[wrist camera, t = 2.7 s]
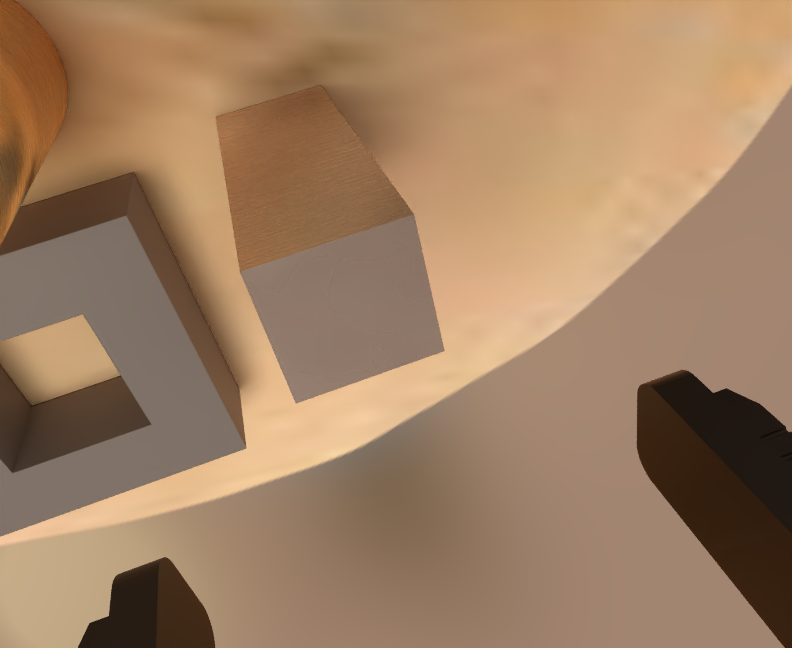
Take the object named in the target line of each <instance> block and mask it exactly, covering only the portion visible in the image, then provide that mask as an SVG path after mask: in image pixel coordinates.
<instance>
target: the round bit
mask: <svg viewBox="0 0 792 648" xmlns="http://www.w3.org/2000/svg"><path fill="white" fill-rule="evenodd" d="M67 102H68V86H67V79H66V74H65V70H64V67H63V64H62V61H61V59H60V56H59V54H58V52H57V49H56V48H55V46H54V44H53V43H52V41H51V39H50V37H49V36H48V35H47V33H46V32H45V31H44V29H43V28H42V26H41V25H40V24H39V23H38V22H37V21H36V20H35V19H34V18H33V16H32V15H31V14H30V13H28V12H27V11H26V10H25V9H24V8H23V7H22V6H21V5H19V4H18V3H17V2H15V1H14V0H0V246H1V244H2V242H3V240H4V238H5V236H6V234H7V232H8V230H9V228H10V226H11V224H12V222H13V220H14V218H15V216H16V214H17V212H18V210H19V208H20V206H21V204H22V202H23V200H24V198H25V196H26V194H27V192H28V190H29V188H30V186H31V184H32V182H33V180H34V178H35V176H36V174H37V172H38V170H39V168H40V167H41V165H42V163H43V161H44V159H45V157H46V155H47V153H48V151H49V149H50V147H51V145H52V143H53V141H54V139H55V137H56V135H57V133H58V131H59V129H60V127H61V125H62V122H63V120H64V117H65V113H66V109H67Z"/></svg>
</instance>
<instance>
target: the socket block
mask: <svg viewBox="0 0 792 648" xmlns="http://www.w3.org/2000/svg"><path fill="white" fill-rule="evenodd" d="M82 314H83V315H84V317H85V318H86V320H87V322H88V323H89V325H90V326H91V328H92V330H93V331H94V333H95V334H96V336H97V338H98V339H99V341H100V342H101V344H102V346H103V347H104V349H105V351H106V352H107V354H108V355H109V357H110V359H111V360H112V362H113V363H114V365H115V367H116V368H117V370H118V371H119V373H120V375H121V376H120V377H117V378H114V379H111V380H108V381H105V382H102V383H99V384H96V385H94V386H91V387H88V388H85V389H82V390H79V391H76V392H73V393H70V394H67V395H64V396H61V397H58V398H55V399H53V400H50V401H47V402H44V403H41V404H38V405H35V406H32V407H31V405H30V404H29V403H28V401H27V400H26V399H25V397H24V396H23V395H22V393H21V392H20V391H19V389H18V388H17V387H16V385H15V384H14V383H13V382H12V380H11V379H10V378H9V376H8V375H7V374H6V372H5V371H4V370H3V368H2V367H1V366H0V537H1V536H3V535H6V534H9V533H12V532H14V531H17V530H20V529H23V528H26V527H28V526H31V525H34V524H37V523H40V522H42V521H45V520H48V519H51V518H54V517H56V516H59V515H62V514H65V513H67V512H70V511H73V510H76V509H79V508H81V507H84V506H87V505H90V504H93V503H95V502H98V501H101V500H104V499H106V498H109V497H112V496H115V495H118V494H120V493H123V492H126V491H129V490H132V489H134V488H137V487H140V486H143V485H146V484H148V483H151V482H154V481H157V480H159V479H162V478H165V477H168V476H171V475H173V474H176V473H179V472H182V471H185V470H187V469H190V468H193V467H196V466H199V465H201V464H204V463H207V462H210V461H212V460H215V459H218V458H221V457H224V456H226V455H229V454H232V453H235V452H238V451H240V450H243V449H246V441H245V433H244V424H243V416H242V408H241V399H240V391H239V388H238V386H237V384H236V382H235V380H234V378H233V376H232V374H231V371H230V369H229V367H228V365H227V363H226V361H225V359H224V357H223V355H222V353H221V351H220V349H219V347H218V345H217V343H216V341H215V339H214V337H213V335H212V332H211V330H210V328H209V326H208V324H207V322H206V320H205V318H204V316H203V314H202V312H201V310H200V308H199V306H198V304H197V302H196V300H195V298H194V296H193V293H192V291H191V289H190V287H189V285H188V283H187V281H186V279H185V277H184V275H183V273H182V271H181V269H180V267H179V265H178V263H177V261H176V259H175V256H174V254H173V252H172V250H171V248H170V246H169V244H168V242H167V240H166V238H165V236H164V234H163V232H162V230H161V228H160V226H159V224H158V222H157V220H156V217H155V215H154V213H153V211H152V209H151V207H150V205H149V203H148V201H147V199H146V197H145V195H144V193H143V191H142V189H141V187H140V185H139V183H138V181H137V178H136V176H135V174H134V172H133V173H129V174H126V175H123V176H120V177H117V178H113V179H110V180H107V181H104V182H101V183H97V184H94V185H91V186H88V187H85V188H81V189H78V190H75V191H72V192H69V193H65V194H62V195H59V196H56V197H53V198H49V199H46V200H43V201H40V202H36V203H33V204H30V205H27V206H24V207H20V208H19V210H18V212H17V214H16V216H15V218H14V220H13V222H12V224H11V226H10V228H9V230H8V232H7V234H6V236H5V238H4V240H3V242H2V244H1V246H0V341H3V340H6V339H9V338H12V337H15V336H18V335H21V334H24V333H27V332H30V331H33V330H37V329H40V328H43V327H46V326H49V325H52V324H55V323H58V322H61V321H64V320H67V319H70V318H73V317H76V316H79V315H82Z"/></svg>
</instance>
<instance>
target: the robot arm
mask: <svg viewBox="0 0 792 648" xmlns="http://www.w3.org/2000/svg"><path fill="white" fill-rule="evenodd" d="M637 450H638V454H639V458H640V460H641V463H642V465H643V468H644V470H645V471H646V473H647V475H648V477H649V478H650V480H651V481H652V482H653V483H654V484H655V486H656V487H657V488H658V490H659V491H660V492H661V493H662V495H663V496H664V497H665V499H666V500H667V501H668V502H669V503H670V505H671V506H672V507H673V509H674V510H675V511H676V512H677V513H678V515H679V516H680V517H681V519H683V521H684V522H685V524H686V525H687V526H688V527H689V529H690V530H691V531H692V532H693V534H694V535H695V536H696V537H697V539H698V540H699V541H700V542H701V544H702V545H703V546H704V547H705V548H706V550H707V551H708V552H709V554H710V555H711V556H712V557H713V559H714V560H715V561H716V562H717V564H718V565H719V566H720V567H721V569H722V570H723V571H724V572H725V574H726V575H727V576H728V577H729V579H730V580H731V581H732V582H733V584H734V585H735V586H736V587H737V589H738V590H739V591H740V592H741V594H742V595H743V596H744V597H745V599H746V600H747V601H748V602H749V604H750V605H751V606H752V607H753V608H754V610H755V611H756V612H757V614H758V615H759V616H760V617H761V619H762V620H763V621H764V622H765V623H766V625H767V626H768V627H769V629H770V630H771V631H772V632H773V634H774V635H775V636H776V637H777V639H778V640H779V641H780V642H781V644H782V645H783V646H784V647H785V648H792V432H788V431H787V430H786V427H785V426H784V425H783V424H782V423H781V422H780V421H778V420H777V419H776V418H775V417H774V416H773V415H772V414H771V413H770V412H768V411H767V410H766V409H765V408H764V407H763V406H761V405H760V404H759V403H757V402H754V401H752V400H750V399H748V398H746V397H744V396H742V395H739V394H737V393H735V392H733V391H731V390H729V389H724V390H721V391H718V392H715V393H712V392H711V391H710V390H709V389H708V388H707V387H706V386H705V385H704V384H703V383H702V382H701V381H700V380H699V379H698V378H697V377H695V376H694V375H693V374H692V373H690V372H689V371H686V370H680V371H677V372H674V373H672V374H669V375H666V376H663V377H661V378H658V379H655V380H652V381H650V382H647V383H644V384H642V385H640V386H639V388H638V394H637ZM78 648H215V641H214V635H213V630H212V626H211V623H210V620H209V617H208V614H207V612H206V610H205V608H204V606H203V605H202V603H201V602H200V601H199V599H198V598H197V596H196V595H195V594H194V592H193V591H192V590H191V588H190V587H189V586H188V584H187V582H186V581H185V580H184V578H183V577H182V576H181V574H180V573H179V571H178V570H177V568H176V567H175V566H174V564H173V563H172V562H171V561H170V560H169V559H168V558H166V557H164V558H161V559H159V560H156V561H153V562H150V563H148V564H145V565H142V566H139V567H137V568H134V569H131V570H129V571H126V572H123V573H121V574H118V575H117V576H116V577H115V578H114V580H113V584H112V590H111V600H110V611H109V616H108V617H105V618H102V619H100V620H97V621H94V622H92V623H89V625H88V628H87V630H86V632H85V634H84V636H83V638H82V640H81V642H80V644H79V646H78Z"/></svg>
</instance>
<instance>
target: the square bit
mask: <svg viewBox="0 0 792 648" xmlns="http://www.w3.org/2000/svg"><path fill="white" fill-rule="evenodd" d="M216 123H217V130H218V136H219V142H220V149H221V155H222V161H223V167H224V174H225V180H226V186H227V193H228V199H229V205H230V212H231V218H232V224H233V230H234V237H235V243H236V249H237V256H238V262H239V268H240V273H241V275H242V278H243V280H244V282H245V285H246V287H247V289H248V292H249V294H250V296H251V299H252V301H253V303H254V306H255V308H256V310H257V313H258V315H259V318H260V320H261V322H262V325H263V327H264V329H265V332H266V334H267V336H268V339H269V341H270V343H271V346H272V348H273V351H274V353H275V355H276V358H277V360H278V362H279V365H280V367H281V369H282V372H283V374H284V376H285V379H286V381H287V383H288V386H289V388H290V391H291V393H292V395H293V398H294V400H295V402H296V403H299V402H302V401H304V400H307V399H310V398H313V397H316V396H318V395H321V394H324V393H327V392H330V391H333V390H335V389H338V388H341V387H344V386H347V385H350V384H352V383H355V382H358V381H361V380H364V379H367V378H369V377H372V376H375V375H378V374H381V373H383V372H386V371H389V370H392V369H395V368H398V367H400V366H403V365H406V364H409V363H412V362H415V361H417V360H420V359H423V358H426V357H429V356H431V355H434V354H437V353H440V352H443V351H444V347H443V342H442V338H441V333H440V329H439V324H438V320H437V315H436V311H435V307H434V302H433V298H432V293H431V289H430V284H429V280H428V275H427V271H426V266H425V262H424V257H423V253H422V248H421V244H420V240H419V235H418V231H417V226H416V222H415V217H414V214H413V212H412V211H411V210H410V208H409V207H408V205H407V204H406V203H405V201H404V200H403V198H402V197H401V196H400V194H399V193H398V192H397V190H396V189H395V187H394V186H393V185H392V183H391V182H390V181H389V179H388V178H387V176H386V175H385V174H384V172H383V171H382V169H381V168H380V167H379V165H378V164H377V163H376V161H375V160H374V158H373V157H372V156H371V154H370V153H369V152H368V150H367V149H366V147H365V146H364V145H363V143H362V142H361V140H360V139H359V138H358V136H357V135H356V134H355V132H354V131H353V129H352V128H351V127H350V125H349V124H348V122H347V121H346V120H345V118H344V117H343V116H342V114H341V113H340V111H339V110H338V109H337V107H336V106H335V105H334V103H333V102H332V100H331V99H330V98H329V96H328V95H327V93H326V92H325V91H324V89H323V88H322V87H321V85H319V86H316V87H312V88H309V89H306V90H303V91H299V92H296V93H293V94H290V95H286V96H283V97H280V98H277V99H273V100H270V101H267V102H264V103H260V104H257V105H254V106H251V107H247V108H244V109H241V110H238V111H234V112H231V113H228V114H225V115H221V116H218V117H216Z"/></svg>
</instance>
